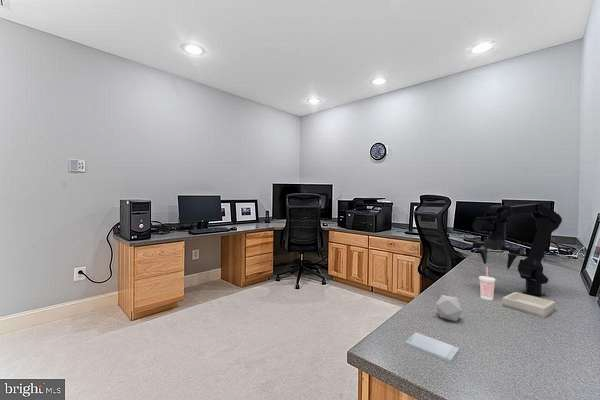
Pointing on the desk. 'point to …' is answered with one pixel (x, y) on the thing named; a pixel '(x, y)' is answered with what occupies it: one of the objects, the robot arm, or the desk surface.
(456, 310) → the die
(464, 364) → the desk surface
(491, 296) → the beverage cup
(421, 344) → the hard drive
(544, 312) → the tray
